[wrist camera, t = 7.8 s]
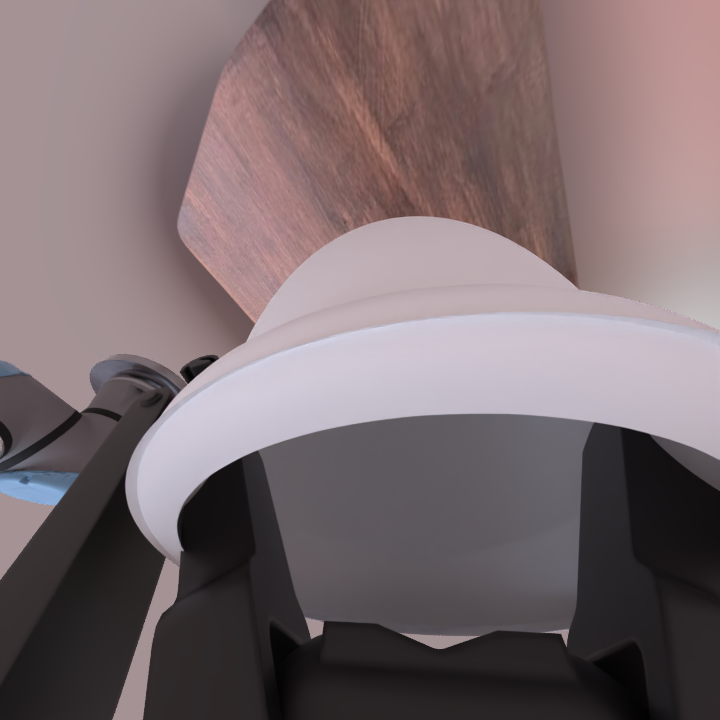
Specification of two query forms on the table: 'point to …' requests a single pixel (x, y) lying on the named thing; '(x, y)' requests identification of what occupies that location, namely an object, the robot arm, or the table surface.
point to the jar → (431, 425)
